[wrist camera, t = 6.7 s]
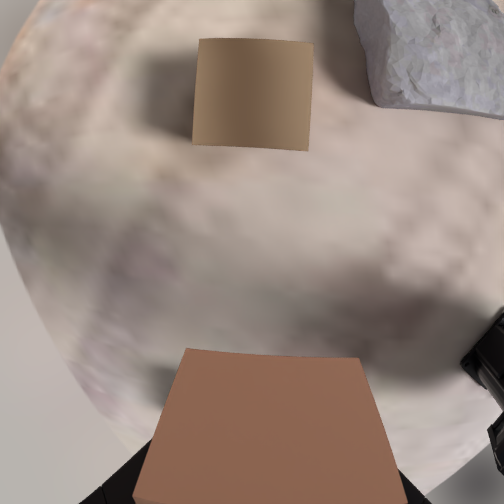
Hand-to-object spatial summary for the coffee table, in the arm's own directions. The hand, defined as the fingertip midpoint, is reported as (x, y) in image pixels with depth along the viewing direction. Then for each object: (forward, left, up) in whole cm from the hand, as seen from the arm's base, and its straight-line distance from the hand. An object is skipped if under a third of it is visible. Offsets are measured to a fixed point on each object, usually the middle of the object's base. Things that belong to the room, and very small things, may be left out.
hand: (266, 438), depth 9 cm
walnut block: (+7, -8, -13) cm, 16 cm away
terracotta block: (0, 0, -1) cm, 1 cm away
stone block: (+1, -20, -13) cm, 23 cm away
